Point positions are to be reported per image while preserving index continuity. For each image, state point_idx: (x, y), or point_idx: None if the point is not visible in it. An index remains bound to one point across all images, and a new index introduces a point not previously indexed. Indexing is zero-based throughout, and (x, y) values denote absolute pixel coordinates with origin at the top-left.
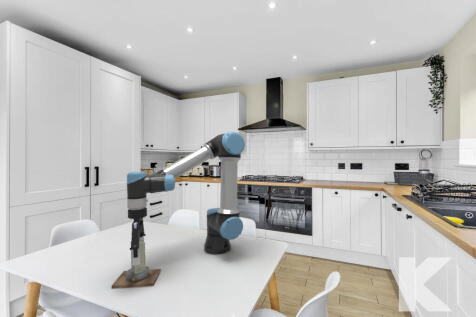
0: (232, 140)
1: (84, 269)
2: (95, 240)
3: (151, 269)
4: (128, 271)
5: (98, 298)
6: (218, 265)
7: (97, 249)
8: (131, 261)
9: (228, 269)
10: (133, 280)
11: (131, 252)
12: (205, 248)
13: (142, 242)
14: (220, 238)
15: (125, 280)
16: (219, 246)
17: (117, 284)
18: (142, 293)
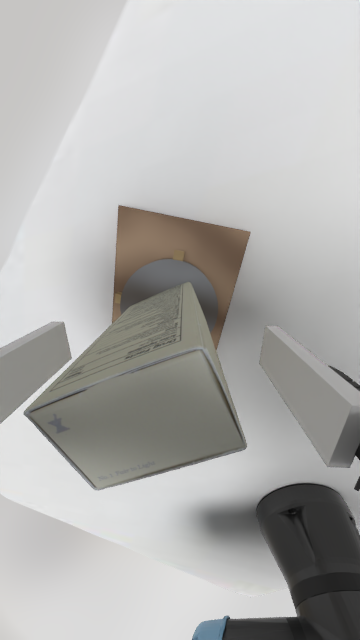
0: None
1: None
2: None
3: (215, 346)
4: (172, 270)
5: (57, 170)
6: (188, 493)
7: None
8: (182, 291)
9: (159, 504)
10: (116, 297)
11: (171, 311)
12: (300, 499)
13: (108, 472)
14: (287, 580)
15: (151, 259)
16: (269, 538)
17: (123, 231)
18: (75, 326)
